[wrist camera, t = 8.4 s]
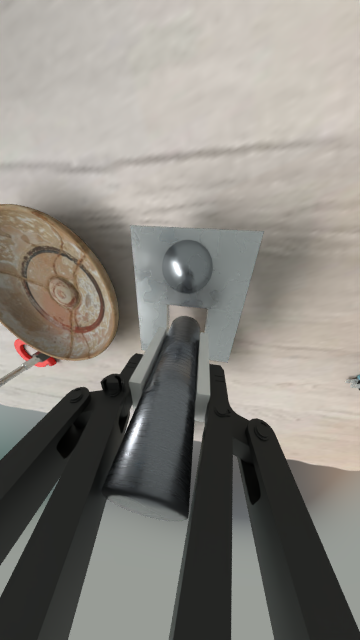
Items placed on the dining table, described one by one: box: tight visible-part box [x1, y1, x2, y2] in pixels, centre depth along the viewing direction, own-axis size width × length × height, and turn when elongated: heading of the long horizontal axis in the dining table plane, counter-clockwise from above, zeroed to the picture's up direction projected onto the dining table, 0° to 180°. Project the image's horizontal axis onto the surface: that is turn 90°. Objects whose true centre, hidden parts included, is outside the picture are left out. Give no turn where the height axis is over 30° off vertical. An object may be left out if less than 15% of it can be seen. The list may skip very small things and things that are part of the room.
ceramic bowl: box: [0, 204, 119, 361], centre depth 24 cm, size 23×24×5 cm
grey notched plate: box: [130, 225, 264, 363], centre depth 19 cm, size 22×12×10 cm, turn 177°
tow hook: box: [0, 339, 57, 387], centre depth 30 cm, size 8×13×9 cm
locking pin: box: [101, 316, 200, 521], centre depth 11 cm, size 3×3×13 cm
